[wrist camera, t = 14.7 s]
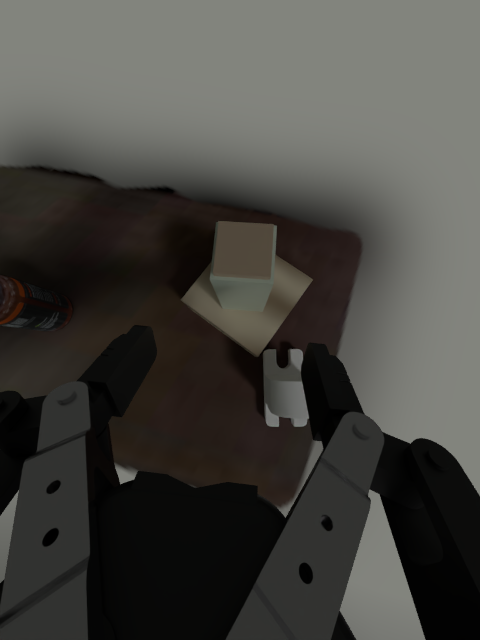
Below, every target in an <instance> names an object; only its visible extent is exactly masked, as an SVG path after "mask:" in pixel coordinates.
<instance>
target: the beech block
mask: <svg viewBox="0 0 480 640" xmlns="http://www.w3.org/2000/svg"><path fill="white" fill-rule="evenodd" d="M211 264H212V262H211V263H210V264H209V265H208V267H207V268H206V269H205V270H204V272H203V273H202V274H201V275H200V277H199V278H198V279H197V280H196V282H195V283H194V284H193V285H192V287H191V288H190V289H189V290H188V292H187V293H186V294H185V295H184V297H183V298H182V299H181V301H183V302H184V303H185V304H186V305H187V306H188V307H189V308H190V309H191V310H193V311H194V312H195V313H197V314H198V315H199V316H201V317H202V318H203V319H205V320H206V321H208V322H209V323H210V324H212V325H213V326H214V327H216V328H217V329H218V330H220V331H221V332H222V333H224V334H225V335H227V336H228V337H229V338H231V339H232V340H233V341H235V342H236V343H237V344H239V345H240V346H241V347H243V348H244V349H245V350H247V351H248V352H250V353H251V354H252V355H254V356H255V357H258V356H259V355H260V353H261V352H262V351H263V349H264V348H265V346H266V345H267V344H268V342H269V341H270V339H271V338H272V337H273V335H274V334H275V332H276V331H277V330H278V328H279V327H280V325H281V324H282V322H283V321H284V320H285V318H286V317H287V315H288V314H289V313H290V311H291V310H292V308H293V307H294V306H295V304H296V303H297V301H298V300H299V299H300V297H301V296H302V294H303V293H304V291H305V290H306V289H307V287H308V286H309V284H310V283H311V282H312V280H313V279H311V278H310V277H308V276H307V275H305V274H304V273H302V272H301V271H299V270H298V269H296V268H295V267H293V266H292V265H290V264H288V263H287V262H285V261H284V260H282V259H281V258H279V257H278V256H276V255H275V267H274V284H273V287H272V289H271V292H270V294H269V297H268V299H267V302H266V305H265V307H264V310H263V312H259V311H246V310H232V309H223V308H222V306H221V304H220V301H219V299H218V297H217V295H216V292H215V290H214V288H213V286H212V283H211V281H210V273H211Z"/></svg>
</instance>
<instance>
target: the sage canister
mask: <svg viewBox="0 0 480 640" xmlns="http://www.w3.org/2000/svg"><path fill="white" fill-rule="evenodd" d="M276 231H277V226H274V224H259V223H243V222H226V221H219V222H216V229H215V237H214V246H213V255H212V264H211V273H210V281H211V283H212V286H213V288H214V290H215V292H216V295H217V297H218V299H219V301H220V304H221V306H222V308H223V309H232V310H246V311H259V312H263V310H264V307H265V305H266V302H267V299H268V297H269V294H270V292H271V289H272V287H273V284H274V267H275V249H276Z"/></svg>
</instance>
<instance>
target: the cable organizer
mask: <svg viewBox="0 0 480 640" xmlns="http://www.w3.org/2000/svg"><path fill="white" fill-rule="evenodd" d="M302 361H303V353H302V351H301V350H299V349H289V350H288V365H287V366H286V367H285V368H280V367H279V366H278V365H277V362H276V349H268V350H265V351H264V352H263V374H264V412H265V420H266V423H267V425H268V426H271V427H279V416H280V417H285V418H291V423H292V424H293V425H294V427H302V426H305V425H306V423H307V419H309V415H308V410H307V405H306V400H305V394H304V389H303V384H302V379H301V365H302Z"/></svg>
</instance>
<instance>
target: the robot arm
mask: <svg viewBox="0 0 480 640" xmlns="http://www.w3.org/2000/svg"><path fill="white" fill-rule="evenodd" d="M156 354H157V348H156V344H155V339H154V335H153V330H152V328H151V327H149V326H139V325H135V326H133V327H132V328H131V329H130V331H129V332H128V333H127V334H122V335H121V336H119V337H118V338H116V339H114V340H113V341H112V342H111V343H110V344H109V346H108V347H107V349H105V350H104V351H103V352H102V353H101V356H99V357H98V358H97V359H96V360H95V361H94V362H93V364H92V365H91V366H90V367H89V368H88V369H87V370H86V371H85V372H84V374H83V375H82V376H81V377H80V378H79V379H78V380H77V381H76V382H69V383H66V384H63V385H61V386H59V387H57V388H56V389H54V390H53V391H52V392H51V393H49V394H48V395H47V396H41V397H34V398H28V399H24V398H23V397H22V396H21V395H20V394H19V393H18V392H16V391H4V392H0V515H1V514H2V512H3V511H4V510H5V508H6V507H7V505H8V504H9V502H10V501H11V500H12V499H13V497H14V496H15V494H16V493H17V492H18V490H19V494H18V500H17V506H16V512H15V518H14V524H13V530H12V537H11V542H10V549H9V555H8V561H7V567H6V573H5V579H4V580H3V581H2V582H1V583H0V640H356V638H355V637H354V635H353V633H352V631H351V630H350V628H349V626H348V624H347V623H346V621H345V619H344V617H343V616H342V614H341V612H340V611H339V610H340V607H341V604H342V600H343V597H344V594H345V590H346V587H347V583H348V580H349V577H350V573H351V570H352V567H353V563H354V560H355V557H356V553H357V550H358V547H359V543H360V540H361V537H362V533H363V529H364V527H365V523H366V520H367V517H368V513H369V509H370V504H371V500H370V498H369V497H368V492H369V489H370V490H372V491H375V492H376V493H378V494H380V497H381V500H382V504H383V506H384V510H385V513H386V516H387V519H388V522H389V526H390V529H391V532H392V535H393V538H394V541H395V545H396V548H397V551H398V554H399V557H400V560H401V563H402V567H403V569H404V573H405V576H406V579H407V582H408V585H409V589H410V592H411V595H412V598H413V601H414V604H415V608H416V611H417V613H418V617H419V620H420V623H421V626H422V630H423V633H424V636H425V639H426V640H480V496H479V494H478V493H477V491H476V490H475V488H474V486H473V485H472V483H471V481H470V480H469V478H468V477H467V475H466V474H465V472H464V471H463V469H462V467H461V466H460V464H459V463H458V461H457V460H456V459H455V458H454V456H453V455H452V454H451V453H449V452H448V451H447V450H446V449H445V448H444V447H442V446H441V445H439V444H437V443H435V442H433V441H431V440H428V439H423V438H419V439H416V440H414V441H413V442H412V443H411V444H410V443H407V442H405V441H403V440H400V439H398V438H395V437H393V436H390V435H388V434H386V433H383V432H382V431H381V429H380V427H379V426H378V425H377V424H376V423H375V422H374V421H373V420H372V419H370V418H369V417H368V416H366V415H365V414H364V412H363V410H362V408H361V405H360V403H359V400H358V398H357V396H356V394H355V391H354V389H353V386H352V384H351V383H350V379H349V377H348V375H347V372H346V370H345V367H344V365H343V363H342V362H341V361H340V360H339V359H338V358H337V357H336V356H333V355H329V352H328V349H327V347H326V345H325V344H317V343H309V344H308V346H307V349H306V352H305V355H304V358H303V361H302V365H301V379H302V384H303V389H304V394H305V400H306V405H307V410H308V415H309V420H310V426H311V431H312V436H313V440H315V441H322V444H323V451H322V453H321V455H320V457H319V458H318V460H317V462H316V464H315V466H314V468H313V469H312V471H311V473H310V475H309V477H308V479H307V480H306V482H305V484H304V486H303V488H302V490H301V491H300V493H299V495H298V497H297V498H296V500H295V502H294V504H293V505H292V507H291V509H290V511H289V513H288V515H287V516H286V518H285V517H284V515H283V514H282V513H281V512H280V511H279V510H278V509H277V507H275V506H274V505H273V504H272V503H271V502H270V501H268V500H267V499H265V498H264V497H262V496H260V495H258V494H257V486H255V485H247V484H239V483H231V482H226V483H220V484H215V485H210V486H205V487H199V488H194V487H191V486H189V485H187V484H185V483H183V482H181V481H179V480H177V479H175V478H173V477H171V476H169V475H167V474H159V473H151V472H143V471H138V472H137V474H136V477H135V479H134V480H132V481H128V482H126V483H123V484H120V482H119V478H118V475H117V472H116V469H115V465H114V458H113V451H112V444H111V436H110V429H109V424H108V422H109V420H110V419H111V417H112V416H116V417H122V416H123V415H124V413H125V411H126V409H127V408H128V406H129V404H130V402H131V401H132V399H133V397H134V395H135V394H136V392H137V390H138V389H139V387H140V385H141V383H142V382H143V380H144V378H145V376H146V375H147V373H148V371H149V369H150V368H151V366H152V364H153V362H154V361H155V358H156Z"/></svg>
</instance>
